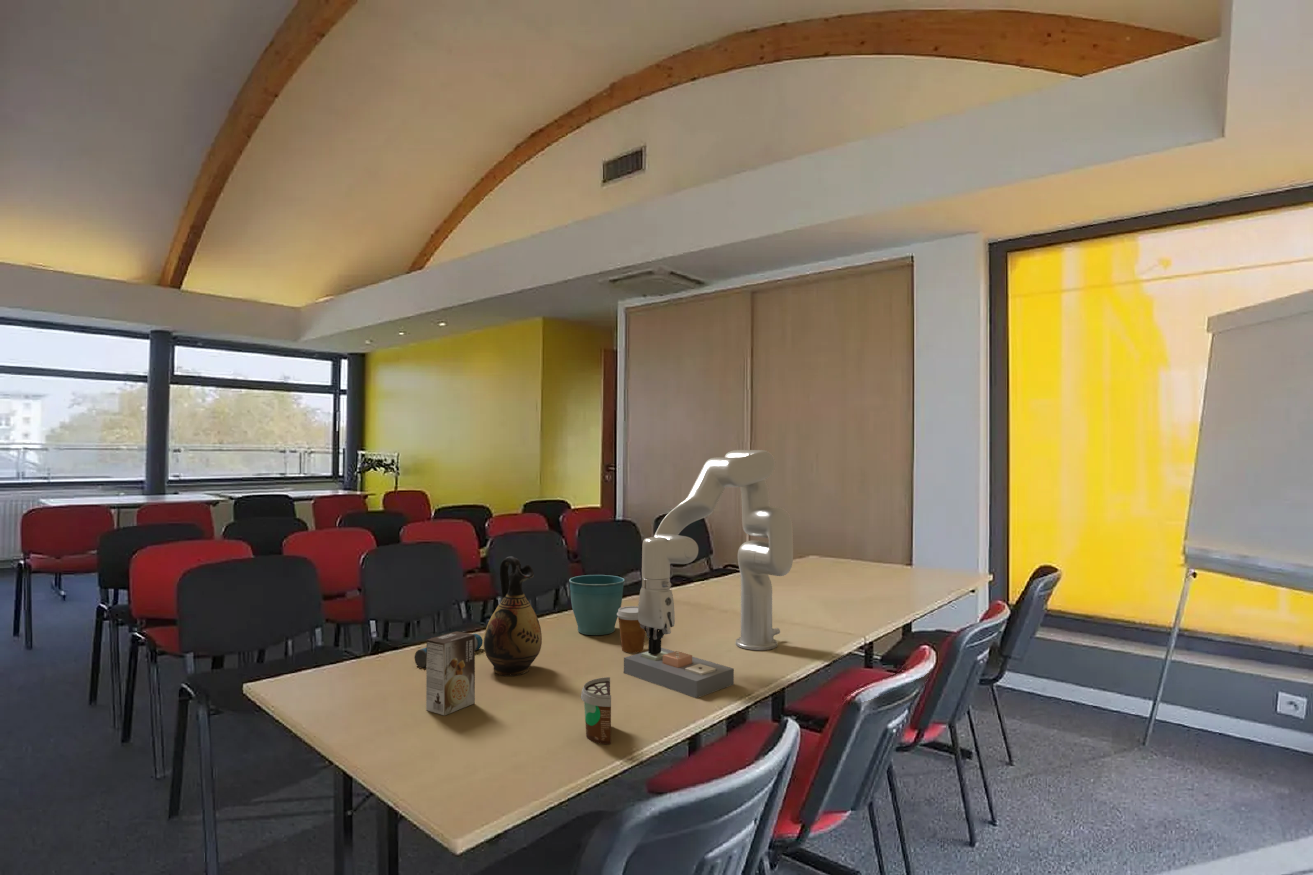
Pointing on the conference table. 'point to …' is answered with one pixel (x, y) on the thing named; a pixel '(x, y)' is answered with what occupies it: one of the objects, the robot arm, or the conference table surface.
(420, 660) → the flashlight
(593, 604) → the flower pot
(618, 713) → the conference table surface
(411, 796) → the conference table surface
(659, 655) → the button two dots
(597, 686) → the food container
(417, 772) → the conference table surface
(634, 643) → the disposable coffee cup
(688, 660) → the button three dots
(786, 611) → the conference table surface
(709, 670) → the button one dot
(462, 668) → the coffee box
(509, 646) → the ceramic jug
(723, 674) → the console
